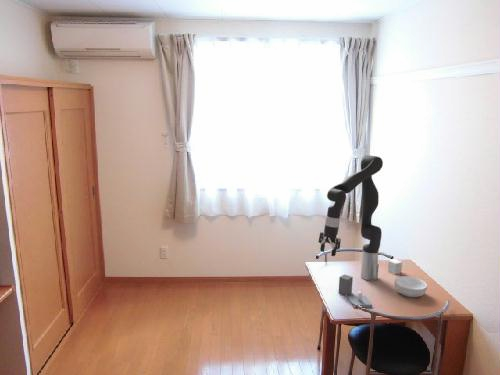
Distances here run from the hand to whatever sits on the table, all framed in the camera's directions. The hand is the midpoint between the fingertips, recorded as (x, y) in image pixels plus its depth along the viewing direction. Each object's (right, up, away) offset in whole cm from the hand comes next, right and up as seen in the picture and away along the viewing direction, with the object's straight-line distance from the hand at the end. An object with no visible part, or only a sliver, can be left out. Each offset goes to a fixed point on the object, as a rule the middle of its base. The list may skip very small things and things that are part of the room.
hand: (327, 253), depth 222 cm
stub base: (+15, -25, -9) cm, 30 cm away
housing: (+10, -22, +2) cm, 25 cm away
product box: (+49, -17, +33) cm, 62 cm away
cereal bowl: (+46, -23, +2) cm, 52 cm away
